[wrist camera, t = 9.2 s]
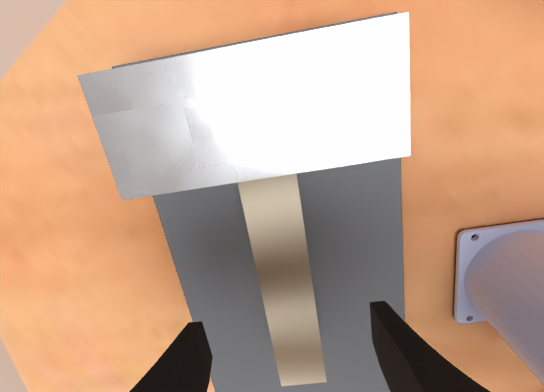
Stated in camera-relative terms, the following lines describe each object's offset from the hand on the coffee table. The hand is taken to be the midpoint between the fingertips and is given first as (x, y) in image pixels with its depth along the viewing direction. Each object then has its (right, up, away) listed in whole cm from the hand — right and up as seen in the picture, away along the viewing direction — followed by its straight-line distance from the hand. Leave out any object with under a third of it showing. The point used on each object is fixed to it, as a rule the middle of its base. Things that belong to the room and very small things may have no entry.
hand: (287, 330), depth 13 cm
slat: (0, +3, +8) cm, 8 cm away
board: (0, +2, +9) cm, 10 cm away
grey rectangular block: (-1, +11, +5) cm, 12 cm away
